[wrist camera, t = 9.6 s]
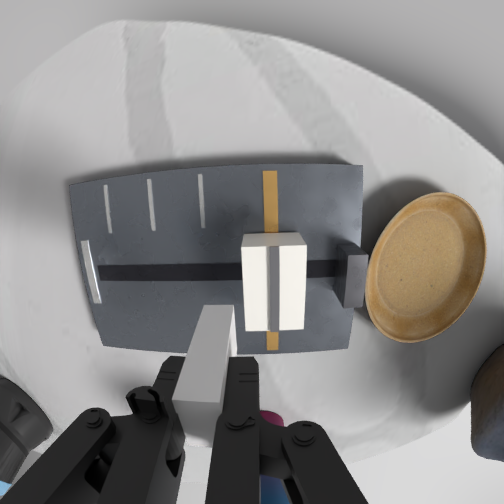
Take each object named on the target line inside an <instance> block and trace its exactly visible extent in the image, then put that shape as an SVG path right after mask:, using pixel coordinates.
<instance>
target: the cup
mask: <svg viewBox="0 0 504 504" xmlns="http://www.w3.org/2000/svg"><path fill="white" fill-rule="evenodd" d="M260 414H261V415H262V417H263V418H264V419H265V420H266V421H268V422H270V423H272V424H275V425H279V426H284V423H283V419H282V417H281V416H279V415H278V414H276V413H273V412H268V411H260ZM260 484H261V504H290V503H289V501H288V498H287V496H286V493H285V491H284V488H283V486H282V483H281V480H280V479H279V478H274V477H270V476H265V475H261V474H260Z"/></svg>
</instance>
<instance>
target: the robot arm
mask: <svg viewBox="0 0 504 504" xmlns="http://www.w3.org/2000/svg"><path fill="white" fill-rule="evenodd" d="M236 355H237V341H236V328H235V315H234V305H204V307H203V309H202V312H201V315H200V318H199V321H198V323H197V326H196V329H195V332H194V335H193V338H192V341H191V344H190V347H189V349H188V352H187V355H186V357H182V356H170V357H169V358H168V359H167V360H166V361H164V362H163V364H162V366H161V368H160V371H159V373H158V375H157V379H156V380H155V383H154V385H153V387H151V386H141V387H138V388H135V389H133V390H132V391H130V392H129V393H128V394H127V395H126V399H127V401H128V404H129V406H130V408H131V410H132V412H133V414H131V415H126V416H113V417H111V416H110V414H109V413H108V412H107V411H106V410H105V409H102V408H90V409H87V410H85V411H84V412H83V413H81V414H80V415H79V416H78V417H77V418H76V420H75V421H74V422H73V423H72V424H71V425H70V426H69V427H68V428H67V429H66V430H65V431H64V432H63V433H62V434H61V435H60V436H59V437H58V438H57V440H56V441H55V442H54V443H53V444H52V445H51V446H50V447H49V448H48V449H47V450H46V451H45V452H44V453H43V454H42V455H41V457H40V458H39V459H38V460H37V461H36V462H35V463H34V464H33V465H32V466H31V467H30V468H29V470H27V472H26V473H25V474H24V475H23V476H22V477H21V478H20V479H19V480H18V481H17V482H16V483H15V484H14V486H13V487H12V488H11V489H10V490H9V491H8V492H7V493H6V491H7V490H8V488H9V487H10V486H11V485H12V482H13V480H14V478H15V476H16V474H17V473H18V471H19V469H20V467H21V466H22V464H23V462H24V460H25V459H26V457H27V455H28V454H29V452H30V451H31V450H32V449H34V448H35V447H37V446H38V445H39V444H41V443H42V442H43V441H45V440H47V439H48V438H49V437H50V435H51V434H52V432H53V427H52V425H51V423H50V421H49V419H48V418H47V416H46V415H45V414H44V412H43V411H42V410H41V409H40V408H39V407H38V405H37V404H36V403H35V402H34V401H33V400H32V399H31V398H30V397H29V396H28V395H27V394H26V393H25V392H24V391H22V390H21V389H20V388H19V387H18V386H16V385H15V384H14V383H12V382H11V381H9V380H7V379H4V378H0V496H1V495H4V494H5V493H6V494H5V495H4V496H3V498H2V499H1V500H0V504H176V501H177V496H178V491H179V486H180V481H181V476H182V471H183V466H184V461H185V451H184V449H183V446H184V442H185V439H186V442H187V444H188V446H200V447H213V448H212V456H211V463H210V470H209V477H208V485H207V492H206V500H205V504H261V484H260V474H261V475H265V476H270V477H274V478H279V479H280V480H281V483H282V486H283V488H284V491H285V493H286V496H287V498H288V501H289V503H290V504H368V502H367V501H366V499H365V497H364V496H363V494H362V492H361V491H360V489H359V487H358V486H357V484H356V482H355V481H354V479H353V477H352V476H351V474H350V473H349V471H348V470H347V467H346V466H345V464H344V462H343V461H342V459H341V457H340V456H339V454H338V452H337V451H336V449H335V447H334V445H333V444H332V442H331V440H330V439H329V437H328V435H327V434H326V432H325V430H324V429H323V428H322V427H321V426H320V425H318V424H316V423H314V422H311V421H297V422H295V423H292V424H290V425H289V426H288V427H284V426H279V425H275V424H272V423H270V422H268V421H266V420H265V419H264V418H263V417H262V415H261V414H260V406H259V365H258V363H257V361H256V360H255V358H254V357H236Z"/></svg>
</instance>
